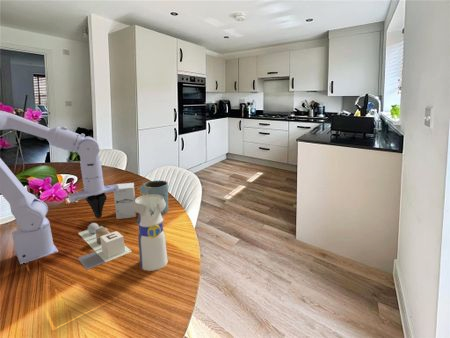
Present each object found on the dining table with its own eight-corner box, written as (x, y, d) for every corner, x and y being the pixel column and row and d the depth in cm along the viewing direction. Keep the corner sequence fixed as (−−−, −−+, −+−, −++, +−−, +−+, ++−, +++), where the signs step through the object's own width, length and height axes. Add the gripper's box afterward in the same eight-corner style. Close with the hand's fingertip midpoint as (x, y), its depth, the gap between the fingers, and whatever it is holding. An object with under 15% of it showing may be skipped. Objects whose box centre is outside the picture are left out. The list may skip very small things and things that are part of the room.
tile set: (105, 263, 77) (105, 262, 77) (78, 233, 94) (77, 232, 94) (132, 252, 82) (132, 251, 82) (101, 226, 100) (101, 225, 100)
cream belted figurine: (174, 266, 75) (168, 179, 69) (143, 276, 71) (134, 185, 65) (165, 252, 82) (159, 172, 76) (136, 260, 78) (127, 177, 72)
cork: (99, 245, 86) (97, 234, 85) (95, 241, 88) (93, 230, 87) (110, 241, 88) (109, 230, 87) (106, 237, 91) (105, 226, 90)
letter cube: (108, 258, 79) (106, 242, 77) (102, 251, 82) (100, 236, 81) (125, 251, 82) (123, 236, 81) (118, 245, 86) (116, 230, 84)
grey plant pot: (157, 218, 106) (155, 189, 103) (139, 212, 111) (136, 185, 108) (174, 209, 115) (173, 182, 112) (157, 204, 120) (155, 178, 117)
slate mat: (86, 271, 73) (86, 269, 73) (77, 259, 79) (77, 258, 79) (105, 263, 77) (105, 262, 77) (95, 252, 82) (95, 251, 82)
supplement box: (116, 220, 105) (112, 189, 102) (118, 213, 112) (114, 183, 109) (136, 218, 107) (133, 187, 103) (136, 210, 114) (133, 182, 110)
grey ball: (90, 236, 92) (88, 226, 91) (86, 232, 94) (85, 223, 93) (101, 232, 94) (99, 223, 93) (97, 229, 96) (96, 220, 96)
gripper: (110, 169, 92) (115, 207, 95) (62, 178, 82) (69, 220, 85) (119, 173, 87) (124, 212, 90) (69, 183, 77) (77, 227, 80)
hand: (98, 216), depth 87 cm, fingers closed
